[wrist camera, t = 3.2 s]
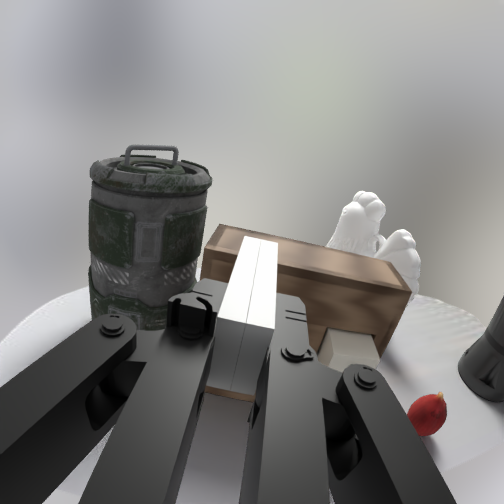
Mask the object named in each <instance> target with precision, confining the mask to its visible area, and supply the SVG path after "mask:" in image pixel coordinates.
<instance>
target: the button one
mask: <svg viewBox="0 0 504 504" xmlns="http://www.w3.org/2000/svg"><path fill="white" fill-rule="evenodd" d="M316 355H317V357H318V361H319V362H320V363H322V364H323V365H325V366H327V367H329V368H332V369H334V370H337V371H340V372H342V373H343V371H344V369H345V368H347V367H348V366H349V365H354V364H362V365H366V366H369V367H372V368H374V369H376V367H377V365H378V363H379V361H380V358H379V355H378V352H377V350H376V347H375V344H374V341H373V339H372V336H371V334H367V333H361V332H355V331H349V330H343V329H337V328H331V327H327V329H326V332H325V335H324V337H323V340H322V342H321V345H320V347H319V349H318V352H317V354H316Z"/></svg>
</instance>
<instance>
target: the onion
mask: <svg viewBox="0 0 504 504" xmlns="http://www.w3.org/2000/svg"><path fill="white" fill-rule="evenodd" d="M407 416H408V418H409V420H410V421H411V423H412V425H413V426H414V428H415V430H416V431H417V433H418V435H419V436H428V435H431V434H434V433H435V432H437V431H438V430H439V429H440V428H441V427H442V425H443V424H444V422H445V420H446V416H447V407H446V403H445V401H444V399H443V393H442V392H439V393H438V395H434V394H430V395H426V396H423V397H421V398H419V399H418V400H416V401H415V402H414V403H413V404H412V405H411V407H410V409H409V411H408V414H407Z"/></svg>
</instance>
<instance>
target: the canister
mask: <svg viewBox="0 0 504 504" xmlns="http://www.w3.org/2000/svg"><path fill="white" fill-rule="evenodd" d="M132 150H166V151H167V150H168V151H173V152H174V154H173V160H167V159H159V158H156V156H151V155H150V156H149V155H130V153H131V151H132ZM177 160H178V149H177V147H175V146H161V145H131V146H129V147H128V148H127V150H126V153H125V155H121V156H120V157H118V158H110V159H106V160H103V161H100V162H99V161H96V162H94V163H93V165H92V166H91V168H90V178H91V179H92V180H93V181H92V190H91V199H90V201H89V250H90V251H91V265H90V267H89V273H88V276H89V292H90V304H91V315H92V320H93V319H95V318H97V317H99V316H101V315H104V314H110V313H112V314H121V315H124V316H127V317H128V318H130V319H131V320H133V321H134V323H135V325H136V328H137V330H144V331H158V330H163V329H165V327H166V324H167V308H168V300H169V299H170V298H171V297H172V296H175V295H178V294H182V293H191V292H192V290H193V288H194V286H195V284H196V283H197V280H196V278H195V275H196V267H197V259H198V257H199V255H200V253H201V246H202V239H203V233H204V226H205V219H206V212H207V206H206V205H205V204H206V197H207V189H208V188H209V187H210V186H211V185H212V177H210V175H209V172H208V169H206V168H205V167H204V166H202V165H199V164H196V163H193V162H189V161H185V160H181V162H179V161H177Z"/></svg>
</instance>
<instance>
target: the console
mask: <svg viewBox="0 0 504 504" xmlns="http://www.w3.org/2000/svg"><path fill="white" fill-rule="evenodd" d="M244 236H248V237H253V238H257V239H262V240H267V241H271V242H276V243H278V256H277V284H276V293H281V294H286V295H290V296H295V297H299V298H300V299H301V301H302V302H303V303H304V305H305V310H306V319H307V321H306V322H307V328H308V338H309V346H311V347H312V348H313V350H314V351H315V352H316V354H317V352H318V349H319V347H320V345H321V342H322V340H323V337H324V335H325V332H326V329H327V327H331V328H337V329H343V330H349V331H355V332H361V333H367V334H371V336H372V339H373V341H374V344H375V347H376V350H377V352H378V355H379V358H381V356H382V354H383V352H384V351H385V349H386V347H387V345H388V343H389V341H390V339H391V337H392V335H393V333H394V331H395V329H396V327H397V325H398V322H399V320H400V318H401V316H402V314H403V312H404V310H405V307H406V305H407V303H408V301H409V298H410V296H411V294H412V291H411V289H410V288H409V286H408V285H407V284H406V282H405V281H404V279H403V278H402V277H401V275H400V274H399V273H398V271H397V270H396V268H395V267H394V266H393V264H392V263H391V262H389V261H385V260H381V259H376V258H372V257H368V256H363V255H359V254H355V253H350V252H346V251H342V250H337V249H333V248H329V247H324V246H320V245H315V244H311V243H306V242H302V241H297V240H293V239H288V238H283V237H279V236H274V235H270V234H265V233H260V232H256V231H251V230H246V229H242V228H237V227H232V226H227V225H223V224H219V226H218V227H217V229H216V230H215V232H214V234H213V235H212V237H211V238H210V240H209V241H208V243H207V245H206V246H205V248H204V254H203V261H202V268H201V275H200V280H202V279H204V278H207V279H211V280H216V281H220V282H225V283H229V280H230V277H231V274H232V271H233V269H234V266H235V263H236V260H237V257H238V254H239V251H240V248H241V245H242V242H243V239H244ZM260 244H261V243H260ZM231 385H232V384H231ZM230 390H231V388H230ZM205 392H207V393H211V394H215V395H220V396H225V397H229V398H234V399H239V400H244V401H250V402H254V400H255V396H256V391H255V394H254V395H248V394H243V393H238V392H233V391H229V390H224V389H219V388H215V387H211V386H206V387H205Z"/></svg>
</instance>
